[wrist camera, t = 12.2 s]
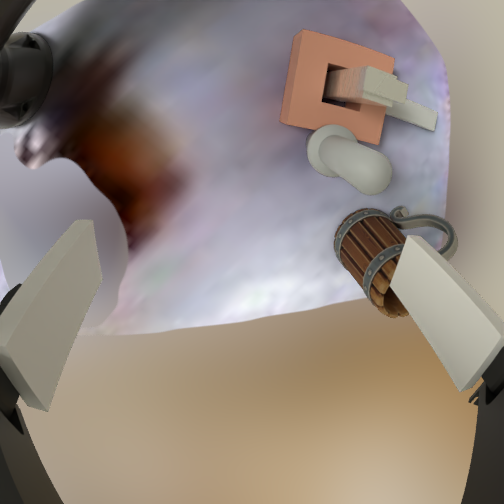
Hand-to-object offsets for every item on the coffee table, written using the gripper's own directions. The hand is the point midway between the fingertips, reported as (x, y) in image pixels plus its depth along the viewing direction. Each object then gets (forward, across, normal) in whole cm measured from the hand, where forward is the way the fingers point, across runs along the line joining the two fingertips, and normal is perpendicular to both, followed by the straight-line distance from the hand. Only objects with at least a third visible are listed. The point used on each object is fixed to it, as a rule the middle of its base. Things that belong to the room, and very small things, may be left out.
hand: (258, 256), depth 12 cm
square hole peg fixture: (+29, +17, +6) cm, 34 cm away
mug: (+29, +23, -11) cm, 39 cm away
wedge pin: (+29, +12, +9) cm, 33 cm away
